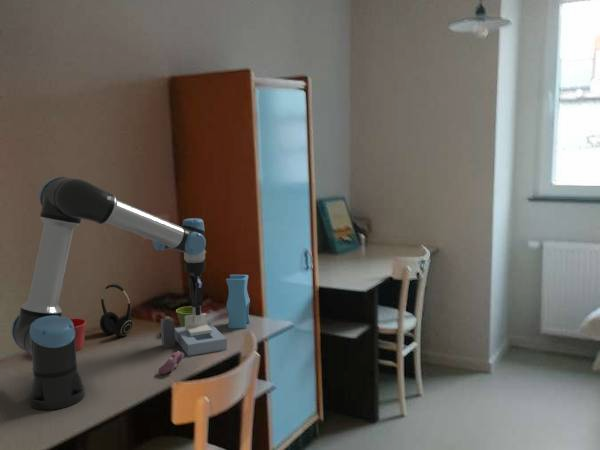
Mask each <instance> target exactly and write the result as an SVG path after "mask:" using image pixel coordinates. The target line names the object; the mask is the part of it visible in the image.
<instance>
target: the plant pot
mask: <svg viewBox="0 0 600 450" xmlns="http://www.w3.org/2000/svg"><path fill="white" fill-rule="evenodd" d="M175 312H176V315H177V318H178V322H179V328H180V327H185V316H189V315H193V307H192V305H191V306H190V305H189V306H183V307H182V306H181V307H178V308H177V309H176V310H175Z"/></svg>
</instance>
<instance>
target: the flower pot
mask: <svg viewBox="0 0 600 450" xmlns="http://www.w3.org/2000/svg"><path fill="white" fill-rule="evenodd" d="M69 319H70V320H71V321H72V322H73V324H74V329H75V345H76V352H78V351H80V350H82V349H83V348H84V345H85V339H86V338H85V337H86V327H87V320H85V319H84V318H74V317H73V318H69Z"/></svg>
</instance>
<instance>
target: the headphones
mask: <svg viewBox="0 0 600 450" xmlns="http://www.w3.org/2000/svg"><path fill="white" fill-rule="evenodd" d="M109 288H115V289H118V290H120V291H121V292H122V293H123V294H124V295H125V298H126V299H127V310H126V314H124V315H122V316H120V317H119V316H118V314H117V313H115V312H112V311H107V307H106V306H105V301H104V293H105V292H106V290H107V289H109ZM100 303H101V308H102V312H103V314H102V315H101V318H100V320H99V325H100V329H101V330H102V332H104V333H105V334H106V335H116V337H121V338H122V337H125V336H126V335H129V334H130V332H131V331H132V329H133V326H134V319H133V317H132V316H131V315H130V314H131V302H130V298H129V295H128V294H127V293H126V291H125V289H124V288H123V287H122V286H120V285H119V284H116V283H115V284H114V283H113V284H109V285H107V286H106V287H105V288H104V290H103V291H102V293H101V297H100Z"/></svg>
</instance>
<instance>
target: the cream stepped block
mask: <svg viewBox="0 0 600 450" xmlns="http://www.w3.org/2000/svg"><path fill="white" fill-rule="evenodd" d="M207 316H208V315H207V313H206V312H205V313H201V323H197V324H194V323H193V315H189V316H185V330H186V331H187V332H188V334H189V335H190V336H194V335H201V334H207V333H212V329H211V328H210V327H209V326H208V325H207V323H208V317H207Z"/></svg>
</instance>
